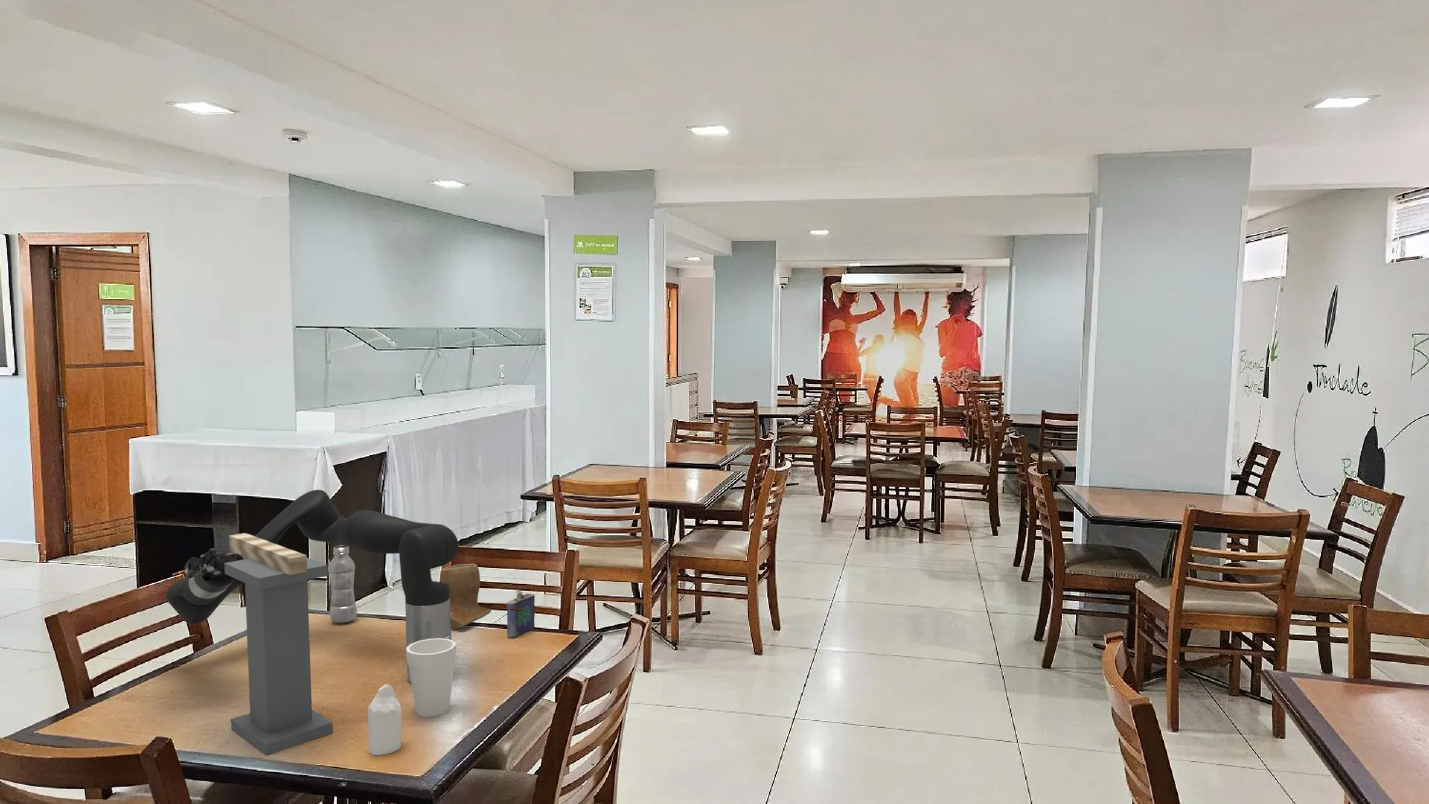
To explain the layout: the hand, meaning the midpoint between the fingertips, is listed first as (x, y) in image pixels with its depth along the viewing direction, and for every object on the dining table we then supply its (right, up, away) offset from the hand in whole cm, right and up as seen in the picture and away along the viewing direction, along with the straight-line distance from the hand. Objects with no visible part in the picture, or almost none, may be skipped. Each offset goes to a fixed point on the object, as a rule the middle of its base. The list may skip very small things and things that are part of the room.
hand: (237, 548), depth 174 cm
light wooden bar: (+10, -1, -9) cm, 14 cm away
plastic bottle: (-2, -29, +54) cm, 61 cm away
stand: (+14, -33, -10) cm, 37 cm away
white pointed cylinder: (+36, -33, -17) cm, 52 cm away
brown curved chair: (+29, -29, +55) cm, 68 cm away
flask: (+47, -29, +46) cm, 71 cm away
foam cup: (+39, -32, 0) cm, 51 cm away
